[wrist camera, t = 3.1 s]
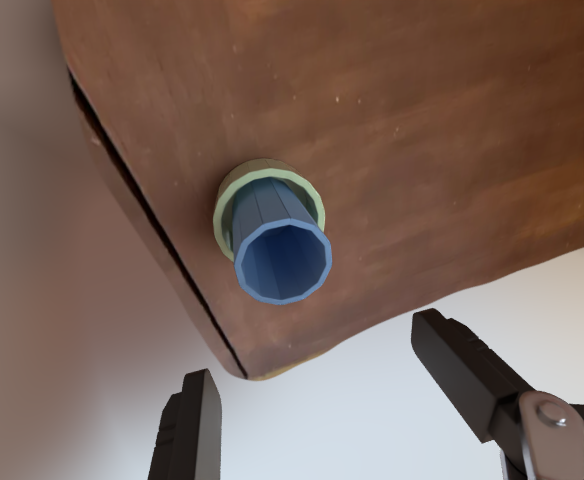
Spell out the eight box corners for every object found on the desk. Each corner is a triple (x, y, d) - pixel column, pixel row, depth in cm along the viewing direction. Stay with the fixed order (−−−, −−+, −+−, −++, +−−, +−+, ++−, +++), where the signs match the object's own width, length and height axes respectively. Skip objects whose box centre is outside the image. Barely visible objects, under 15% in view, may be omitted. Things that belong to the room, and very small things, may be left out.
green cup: (204, 236, 26) (200, 260, 22) (231, 142, 23) (232, 150, 19) (290, 257, 29) (300, 282, 25) (325, 176, 26) (342, 189, 22)
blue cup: (225, 228, 25) (223, 295, 16) (244, 167, 23) (253, 206, 14) (283, 243, 27) (310, 310, 18) (305, 189, 25) (347, 234, 16)
